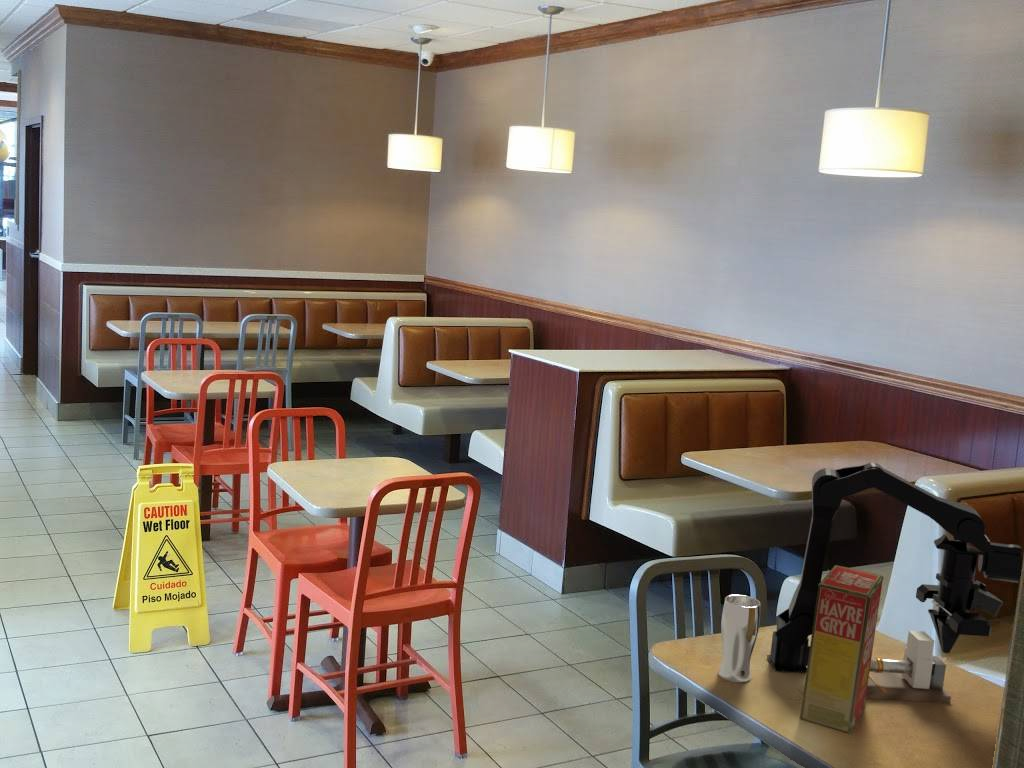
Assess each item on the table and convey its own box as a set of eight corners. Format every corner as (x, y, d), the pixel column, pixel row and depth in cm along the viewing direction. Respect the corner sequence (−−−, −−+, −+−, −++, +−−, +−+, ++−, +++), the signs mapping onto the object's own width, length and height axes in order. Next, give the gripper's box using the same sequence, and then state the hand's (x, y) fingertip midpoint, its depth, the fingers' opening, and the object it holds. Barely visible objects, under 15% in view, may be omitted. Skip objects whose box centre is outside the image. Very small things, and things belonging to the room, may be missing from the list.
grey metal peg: (853, 685, 192) (856, 660, 191) (846, 675, 196) (849, 651, 195) (942, 690, 193) (946, 665, 192) (933, 680, 197) (936, 656, 196)
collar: (913, 687, 192) (919, 641, 190) (901, 674, 197) (907, 629, 196) (929, 688, 192) (935, 642, 190) (916, 675, 197) (922, 630, 196)
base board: (854, 697, 190) (855, 690, 190) (838, 675, 199) (839, 669, 199) (950, 702, 191) (951, 695, 190) (929, 680, 200) (930, 674, 199)
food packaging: (852, 735, 175) (871, 596, 171) (797, 719, 180) (814, 582, 176) (867, 706, 187) (885, 574, 183) (815, 691, 191) (831, 563, 187)
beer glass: (750, 669, 199) (759, 596, 196) (755, 685, 192) (764, 609, 189) (714, 666, 199) (722, 592, 197) (717, 681, 192) (726, 605, 190)
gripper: (1026, 594, 183) (1012, 676, 185) (976, 559, 201) (964, 634, 203) (964, 590, 182) (952, 673, 185) (920, 556, 200) (909, 631, 203)
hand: (945, 652), depth 194 cm, fingers closed
